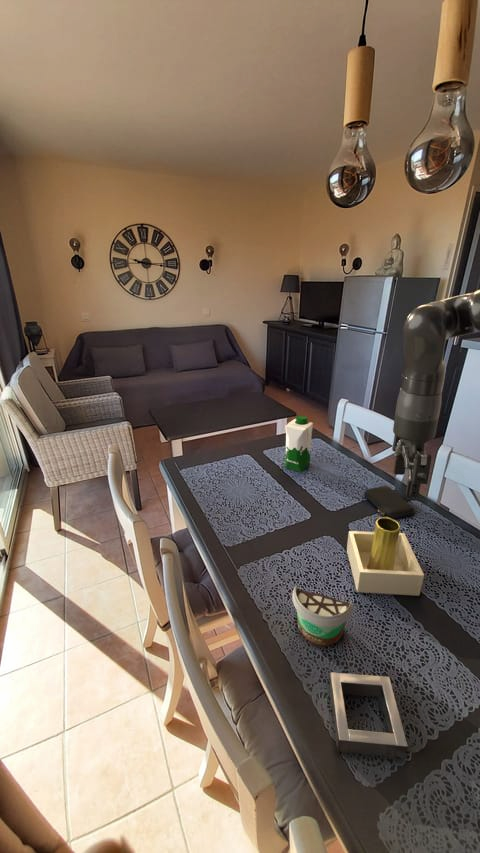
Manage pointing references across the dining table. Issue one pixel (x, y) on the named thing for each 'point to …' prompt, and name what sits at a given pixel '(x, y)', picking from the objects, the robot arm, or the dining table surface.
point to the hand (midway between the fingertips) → (404, 484)
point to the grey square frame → (367, 740)
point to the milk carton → (298, 443)
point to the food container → (320, 616)
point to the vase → (384, 544)
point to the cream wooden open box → (398, 581)
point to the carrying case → (389, 502)
